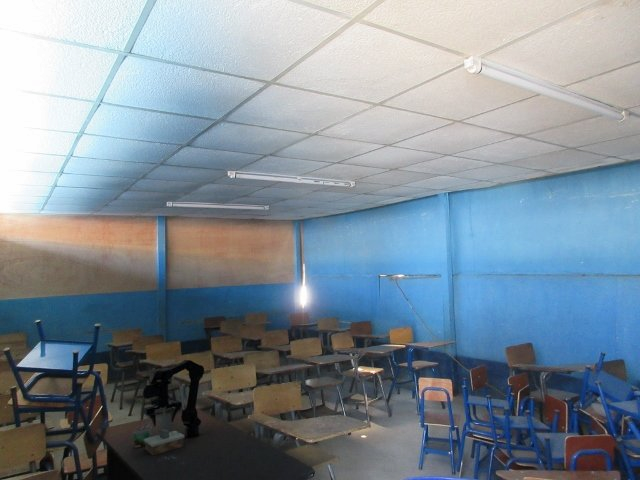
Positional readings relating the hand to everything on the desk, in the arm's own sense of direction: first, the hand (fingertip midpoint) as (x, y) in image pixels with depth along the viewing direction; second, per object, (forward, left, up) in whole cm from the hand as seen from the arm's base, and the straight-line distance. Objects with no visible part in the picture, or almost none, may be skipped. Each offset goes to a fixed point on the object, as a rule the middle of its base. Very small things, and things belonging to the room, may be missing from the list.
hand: (163, 424), depth 229 cm
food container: (+5, -14, -13) cm, 20 cm away
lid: (0, 0, -9) cm, 9 cm away
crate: (0, 0, -13) cm, 13 cm away
